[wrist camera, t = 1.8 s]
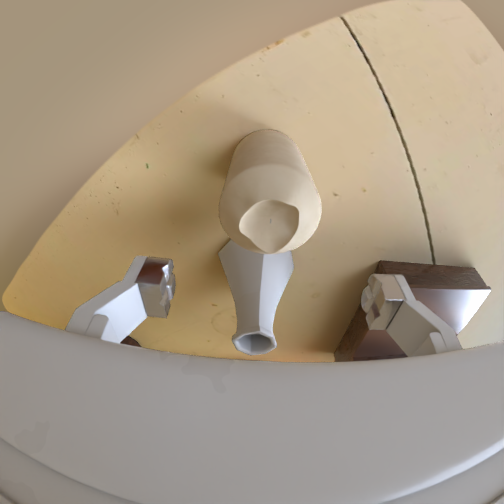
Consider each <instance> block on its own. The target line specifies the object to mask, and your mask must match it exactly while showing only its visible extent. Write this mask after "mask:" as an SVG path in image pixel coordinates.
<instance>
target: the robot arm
mask: <svg viewBox="0 0 504 504" xmlns="http://www.w3.org/2000/svg"><path fill="white" fill-rule="evenodd" d="M173 268H174V266H173V260H172V259H167V258H158V257H150V256H149V257H147V256H139V255H137V256H136V257H135V258H134V260H133V262H132V263H131V265H130V267H129V269H128V271H127V273H126V275H125V276H124V278H123V280H122V281H118V282H117V283H115V284H113V285H112V286H110V287H109V288H107V289H105V290H104V291H102V292H101V293H99V294H98V295H96V296H95V297H93V298H91V299H90V300H88V301H87V302H85V303H84V304H82V305H81V306H79V307H78V308H76V310H75V312H74V313H73V315H72V317H71V319H70V321H69V323H68V325H67V327H66V328H65V330H62V329H58V328H55V327H51V326H48V325H44V324H41V323H38V322H35V321H32V320H29V319H26V318H23V317H20V316H17V315H14V314H12V313H9V312H5V311H0V504H504V341H500V342H496V343H492V344H487V345H483V346H478V347H473V348H468V349H462V347H461V344H460V342H459V340H458V338H457V335H456V333H455V331H454V330H453V329H452V328H451V327H450V326H449V325H448V324H446V323H445V322H444V321H443V320H442V319H441V318H439V317H438V316H437V315H436V314H435V313H433V312H432V311H431V310H430V309H428V308H427V307H426V306H425V305H424V304H422V303H421V302H420V301H416V299H415V297H414V295H413V293H412V291H411V289H410V287H409V285H408V283H407V282H406V280H405V278H404V276H403V275H394V274H392V275H387V274H371V275H370V277H369V279H368V283H369V285H368V286H367V287H366V288H364V290H363V293H362V297H361V305H362V308H363V310H364V311H365V312H366V313H367V316H366V321H367V324H368V328H369V330H386V331H387V333H388V334H389V335H390V336H391V337H392V338H393V340H394V341H395V342H396V343H397V344H398V345H399V347H400V348H401V349H402V350H403V351H404V352H405V354H406V355H407V356H408V357H405V358H395V359H383V360H369V361H350V362H272V361H252V360H238V359H225V358H215V357H205V356H196V355H188V354H180V353H173V352H166V351H160V350H153V349H147V348H142V347H136V346H131V345H126V344H121V343H120V342H121V341H122V340H123V339H124V338H125V337H126V336H128V335H129V334H130V333H131V332H132V331H133V330H134V329H135V328H136V327H137V326H138V325H139V324H140V323H141V322H142V321H144V320H145V319H146V318H147V316H150V317H159V318H167V316H168V312H169V309H170V300H171V299H172V298H173V296H174V293H175V286H176V282H175V275H174V274H173V273H172V271H173Z"/></svg>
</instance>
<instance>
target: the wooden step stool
mask: <svg viewBox="0 0 504 504" xmlns="http://www.w3.org/2000/svg"><path fill="white" fill-rule="evenodd" d="M374 274H387V275H392V274H394V275H403V276H404V278H405V280H406V282H407V283H408V285H409V287H410V289H411V291H412V293H413V295H414V297H415V299H416V301H420V302H421V303H422V304H424V305H425V306H426V307H427V308H428V309H430V310H431V311H432V312H433V313H435V314H436V315H437V316H438V317H439V318H441V319H442V320H443V321H444V322H445V323H446V324H448V325H449V326H450V327H451V328H452V329H453V330H454V331H455V333H456V335H458V334H459V333H460V331H461V330H462V329H463V328H464V326H465V325H466V324H467V323H468V321H469V320H470V319H471V317H472V316H473V315H474V313H475V312H476V311H477V309H478V308H479V307H480V305H481V304H482V302H483V301H484V300H485V298H486V297H487V295H488V294H489V292H490V291H491V288H490V287H489V286H486V284H485V282H484V281H483V279H482V278H481V276H480V275H479V274H478V272H477V271H476V269H475V268H469V267H456V266H444V265H431V264H418V263H406V262H393V261H380V262H379V264H378V266H377V269H376V271H375V273H374ZM366 316H367V313H366V312H365V311H364V310H363V308H362V305H361V303H360V305H359V308H358V310H357V312H356V314H355V316H354V318H353V319H352V321H351V323H350V325H349V327H348V329H347V331H346V333H345V335H344V337H343V338H342V340H341V342H340V344H339V346H338V348H337V349H336V351H335V353H334V356H335V362H350V361H369V360H383V359H395V358H405V357H408V356H407V355H406V354H405V352H404V351H403V350H402V349H401V348H400V347H399V345H398V344H397V343H396V342H395V341H394V340H393V338H392V337H391V336H390V335H389V334H388V333H387V331H386V330H369V328H368V324H367V321H366Z"/></svg>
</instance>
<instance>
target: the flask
mask: <svg viewBox="0 0 504 504" xmlns="http://www.w3.org/2000/svg"><path fill="white" fill-rule="evenodd" d="M218 255H219V258H220V261H221V264H222V267H223V269H224V272H225V275H226V277H227V280H228V283H229V286H230V289H231V292H232V295H233V298H234V301H235V307H236V314H237V332H236V334H234V335H233V336H232V342H233V344H234V346H235V347H236V349H237V350H238V351H241V352H243V353H245V354H248V355H258V354H266V353H268V352H269V351H271V350H273V349H274V348H276V347H277V343H276V340H275V337H274V334H273V321H274V316H275V311H276V308H277V305H278V303H279V300H280V298H281V296H282V293H283V291H284V289H285V286H286V284H287V282H288V280H289V278H290V276H291V274H292V272H293V269H294V264H293V259H292V255H291V251H287V252H284V253H279V254H260V253H255V252H252V251H249V250H247V249H244V248H242V247H241V246H239V245H238V244H236V243H235V242H234V241H233V240H232V239H231V240H230V241H229V242H228V243H227V244H226V245H225V246H224V247H223V248H222V250H221V251H220V252H219V253H218Z"/></svg>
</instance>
